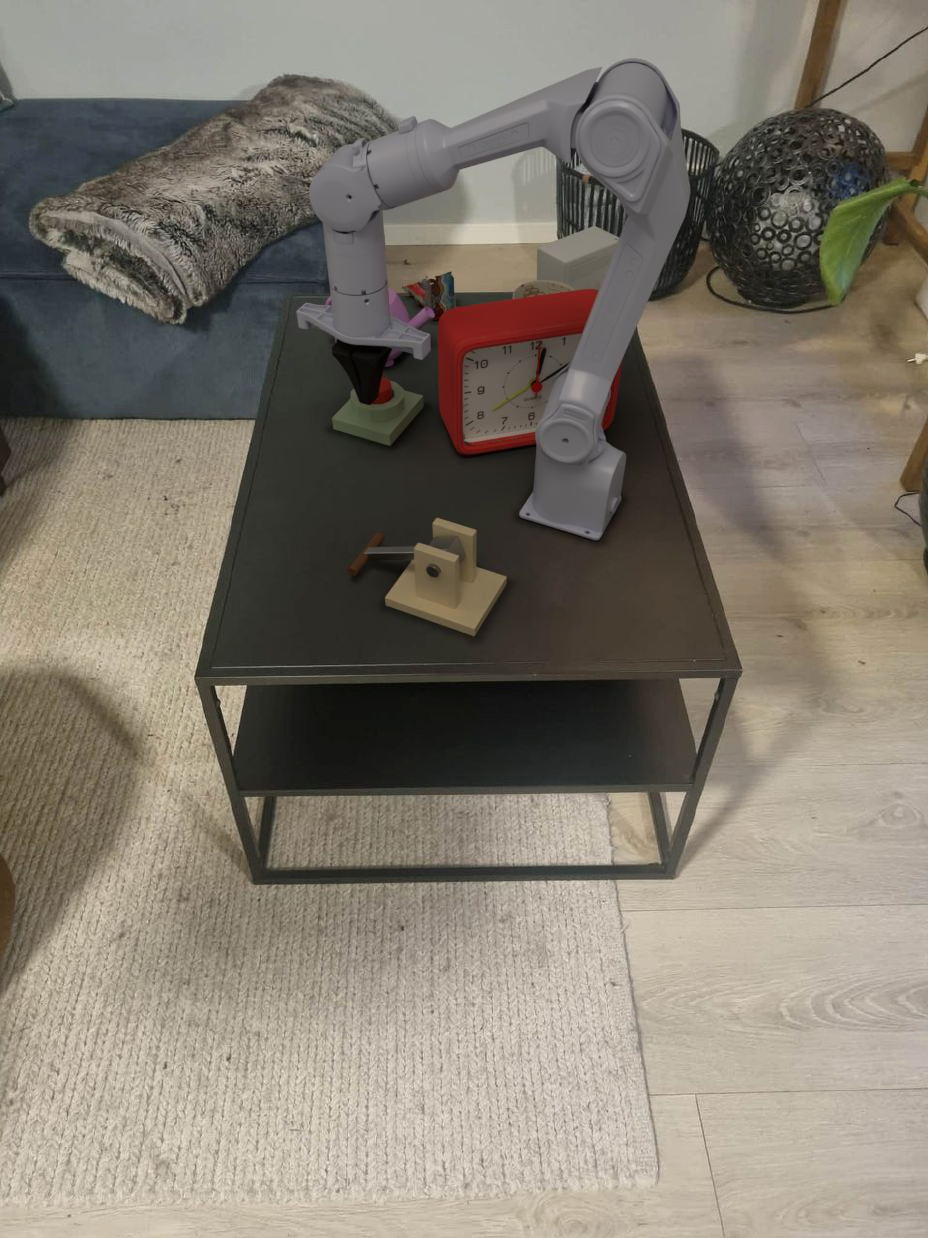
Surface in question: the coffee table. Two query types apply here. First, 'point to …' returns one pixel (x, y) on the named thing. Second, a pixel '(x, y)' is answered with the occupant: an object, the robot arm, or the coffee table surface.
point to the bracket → (447, 583)
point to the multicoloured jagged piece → (434, 293)
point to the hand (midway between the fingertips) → (369, 399)
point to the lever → (402, 551)
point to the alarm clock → (508, 366)
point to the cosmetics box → (577, 258)
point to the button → (384, 392)
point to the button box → (379, 416)
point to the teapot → (402, 318)
